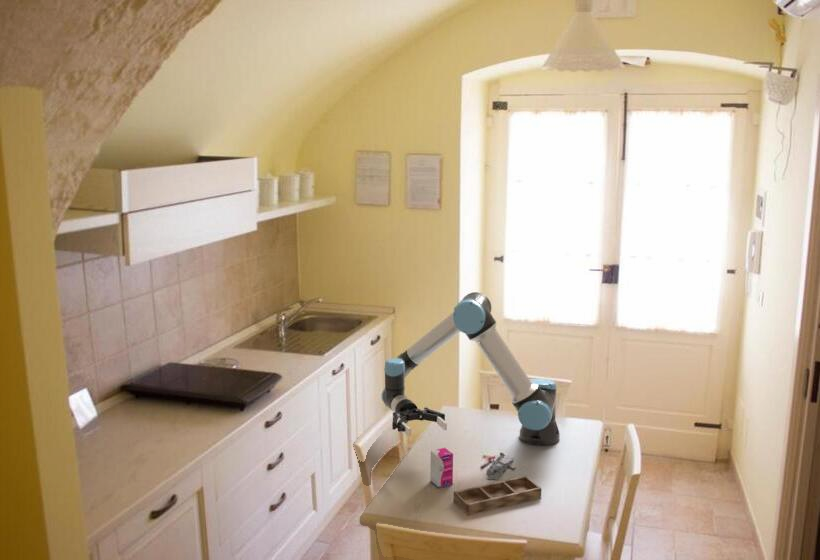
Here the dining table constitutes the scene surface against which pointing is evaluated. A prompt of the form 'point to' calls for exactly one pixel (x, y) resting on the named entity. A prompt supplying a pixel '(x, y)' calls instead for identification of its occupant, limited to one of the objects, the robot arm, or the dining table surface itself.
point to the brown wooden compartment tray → (497, 495)
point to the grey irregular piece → (497, 468)
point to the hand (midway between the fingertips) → (428, 429)
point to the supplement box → (441, 467)
